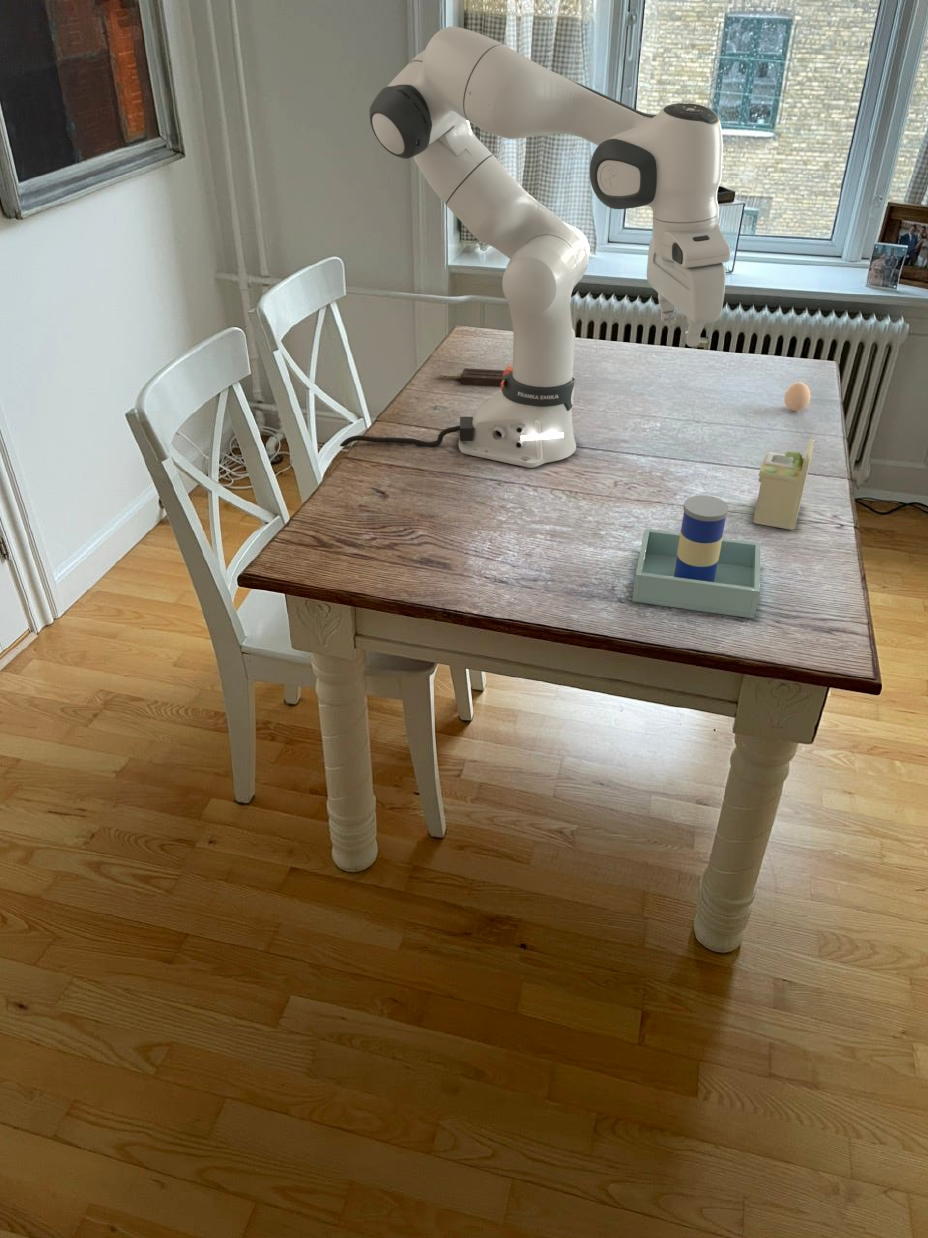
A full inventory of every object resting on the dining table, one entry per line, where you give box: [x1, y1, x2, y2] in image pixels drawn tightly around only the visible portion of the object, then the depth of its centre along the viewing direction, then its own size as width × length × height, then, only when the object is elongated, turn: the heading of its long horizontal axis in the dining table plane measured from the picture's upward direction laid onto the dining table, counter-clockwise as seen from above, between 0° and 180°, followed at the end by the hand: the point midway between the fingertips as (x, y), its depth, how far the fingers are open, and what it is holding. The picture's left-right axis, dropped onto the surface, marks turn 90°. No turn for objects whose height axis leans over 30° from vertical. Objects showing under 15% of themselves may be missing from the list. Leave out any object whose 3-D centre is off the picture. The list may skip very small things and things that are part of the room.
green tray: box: [632, 528, 762, 619], centre depth 145 cm, size 18×14×5 cm
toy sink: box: [753, 439, 816, 531], centre depth 160 cm, size 8×7×13 cm
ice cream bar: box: [440, 367, 505, 387], centre depth 212 cm, size 5×2×15 cm
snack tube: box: [674, 494, 730, 582], centre depth 142 cm, size 6×6×13 cm
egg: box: [783, 381, 811, 412], centre depth 197 cm, size 5×5×6 cm
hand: (679, 333), depth 142 cm, fingers open, 8 cm apart
